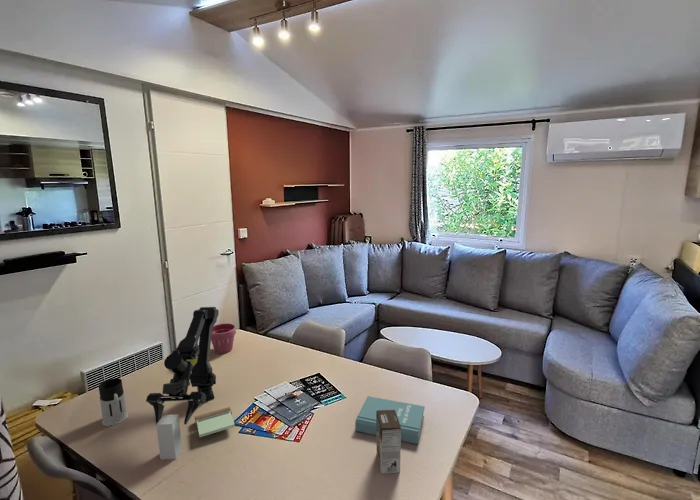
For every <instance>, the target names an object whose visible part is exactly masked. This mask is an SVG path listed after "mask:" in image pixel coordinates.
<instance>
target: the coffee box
mask: <svg viewBox="0 0 700 500" xmlns="http://www.w3.org/2000/svg"><path fill="white" fill-rule="evenodd" d="M376 425H377V435H376V457H377V462H378V467H379V472H380V473H381V475H383V474H385V475H386V474H396V473H401V445H402V443H401V442H402V441H401V426H400V423H399V420H398V417H397V414H396V411H395V410H378V411H376Z"/></svg>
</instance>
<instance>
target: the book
mask: <svg viewBox="0 0 700 500" xmlns="http://www.w3.org/2000/svg"><path fill="white" fill-rule="evenodd" d="M378 410H395V411H396V414H397V417H398V420H399V423H400V426H401V442H405V443H410V444H416V445H419V442H420V438H421V433H422V428H423V425H424V420H425V416H424V412H425V406H424V405H420V404H419V405H418V404H413V403H408V402H403V401H402V402H401V401H397V400H391V399H386V398H382V397H381V398H380V397H376V396H370V395H369V396H368V395H367V397H366V399H365V401H364V402H363V404H362V407H361V408H360V411H359V413H358V414H357V416H356V419H355V423H354V424H355V425H354V427H355V431H356V432H360V433H363V434H369V435H373V436H377V425H376V411H378Z"/></svg>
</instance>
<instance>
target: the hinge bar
mask: <svg viewBox="0 0 700 500" xmlns="http://www.w3.org/2000/svg"><path fill="white" fill-rule="evenodd" d="M228 411H230V412H231V415H232V416H233V413H232V409H231V407H230V406H227V407H224V408H221V409H217V410H214V411H210V412H206V413H202V414H199V415H195V416H194V423H195V424H194V425H195V429H198V426H197V420H200V419H203V418H207V417H210V416H214V415H217V414H221V413H224V412H228Z"/></svg>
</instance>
